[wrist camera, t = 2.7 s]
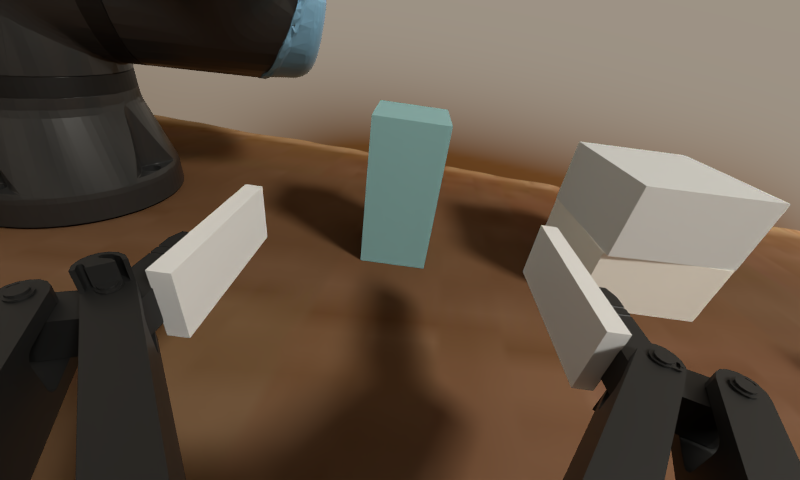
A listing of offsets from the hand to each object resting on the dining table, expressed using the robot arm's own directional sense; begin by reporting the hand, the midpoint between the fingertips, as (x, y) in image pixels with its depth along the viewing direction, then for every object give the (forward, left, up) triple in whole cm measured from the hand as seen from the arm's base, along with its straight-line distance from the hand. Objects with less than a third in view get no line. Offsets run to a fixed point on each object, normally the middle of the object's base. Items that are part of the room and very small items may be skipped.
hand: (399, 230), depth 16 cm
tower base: (+6, +20, -8) cm, 22 cm away
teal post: (-7, +7, -8) cm, 13 cm away
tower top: (+6, +20, -3) cm, 21 cm away
